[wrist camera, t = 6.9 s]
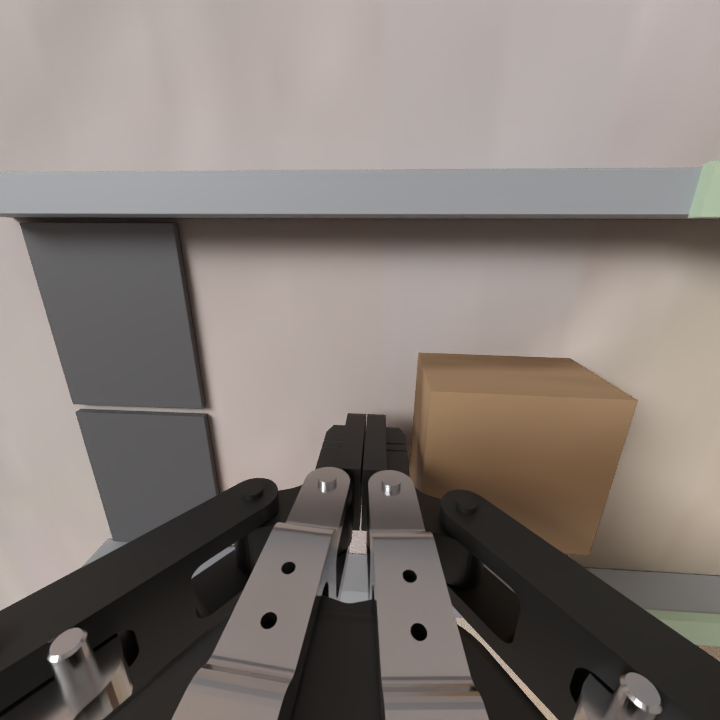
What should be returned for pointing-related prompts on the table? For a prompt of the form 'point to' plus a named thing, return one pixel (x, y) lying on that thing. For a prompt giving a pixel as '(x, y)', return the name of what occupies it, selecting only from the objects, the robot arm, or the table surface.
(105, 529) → the table surface
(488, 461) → the walnut block
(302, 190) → the frame
